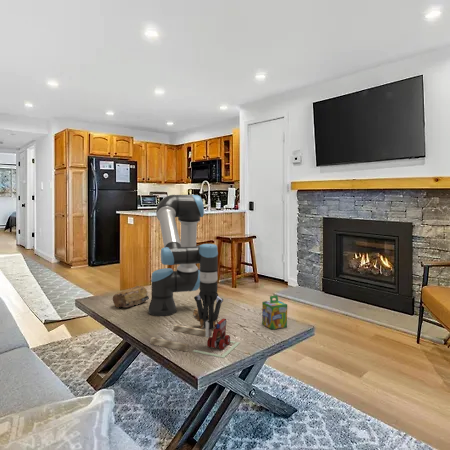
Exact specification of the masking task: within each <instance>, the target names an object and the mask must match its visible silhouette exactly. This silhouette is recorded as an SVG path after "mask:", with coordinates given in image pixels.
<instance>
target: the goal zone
mask: <svg viewBox="0 0 450 450" xmlns="http://www.w3.org/2000/svg"><path fill="white" fill-rule="evenodd" d="M231 343H232V346H231V347H229V348H228V349H227V350H226V351H225V352H223V354H217V353H212V352H207V351H203V350H197V349H193V350H192V352H193V353H197V354H203V355H207V356H212V357H217V358H220V359H221V358H222V359H224V358H226V357H227V356H228V355H229V354H230V353H231V352H232V351H233V350H235V348H237V347H238V346H239V345H240V344H241V342H240V341H235V340H230V343H229V344H231Z"/></svg>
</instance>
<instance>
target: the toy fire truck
mask: <svg viewBox="0 0 450 450" xmlns="http://www.w3.org/2000/svg"><path fill="white" fill-rule="evenodd" d="M215 324H216V325H215V328H213V329H212V330H213V331H212V335H211V336H210V337H209V338H208V337H207V338H208V339H207V341H206V346H207V347H208V348H211V349H212V348H213V349H216V348H219V349H220V350H224V349H225V347H226V346H229V344H231V343H230V341H231V335H228V334H226V332H227V330H226V328H227V319H226V318H222V319H220V320H219V321H218V323H217V322H216V323H215Z"/></svg>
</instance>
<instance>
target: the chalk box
mask: <svg viewBox="0 0 450 450" xmlns="http://www.w3.org/2000/svg"><path fill="white" fill-rule="evenodd" d="M269 299H270V300H264V301H262V308H261V309H262V311H261V312H262V314H261V317H262V319H261V320H262V321H261V324H262V325H263V326H265V327H267V328H268V329H270V330H278V329H283V328H287V327H288V304H287V303H284V302H283V301H280V300H279V297H278V295H277V294H275V295H270V296H269ZM273 299H274V300H273Z"/></svg>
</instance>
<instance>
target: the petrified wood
mask: <svg viewBox="0 0 450 450" xmlns="http://www.w3.org/2000/svg"><path fill="white" fill-rule="evenodd" d="M147 300H150V299H149V295H148V290H147V289H146V287H145V286H143V285H142V286H138V285H137V286H136V285H135V286H133V287H130V288H127V289H124V290H122V291H119V292H117V293H115V294H114V295H112V303H113V304H114V307H116V308H117V307H120V308H130V307H135V306H134V305H136V306H138V304H139V305H140V304H143V303H144V302H146V301H147Z"/></svg>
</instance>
